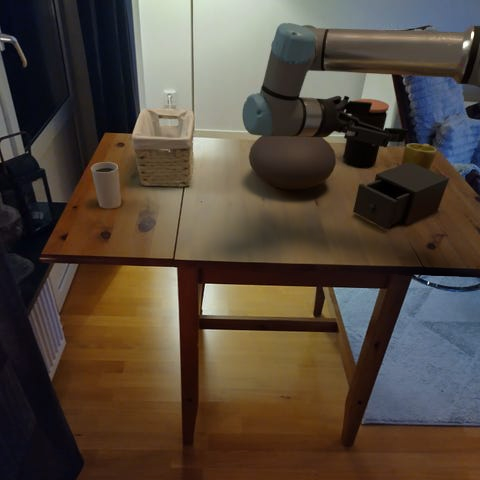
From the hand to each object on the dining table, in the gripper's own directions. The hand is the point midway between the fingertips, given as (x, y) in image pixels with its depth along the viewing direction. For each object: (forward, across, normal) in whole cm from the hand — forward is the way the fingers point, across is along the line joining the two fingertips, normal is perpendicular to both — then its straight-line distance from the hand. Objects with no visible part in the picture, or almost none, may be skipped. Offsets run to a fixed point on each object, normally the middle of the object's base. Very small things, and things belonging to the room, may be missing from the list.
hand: (386, 121), depth 106 cm
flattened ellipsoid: (-4, -22, -29) cm, 37 cm away
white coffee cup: (-55, -29, -37) cm, 72 cm away
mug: (+39, -16, -22) cm, 48 cm away
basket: (-34, -42, -36) cm, 65 cm away
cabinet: (+17, +3, -22) cm, 28 cm away
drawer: (+9, +5, -22) cm, 25 cm away
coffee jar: (+26, -28, -26) cm, 46 cm away
